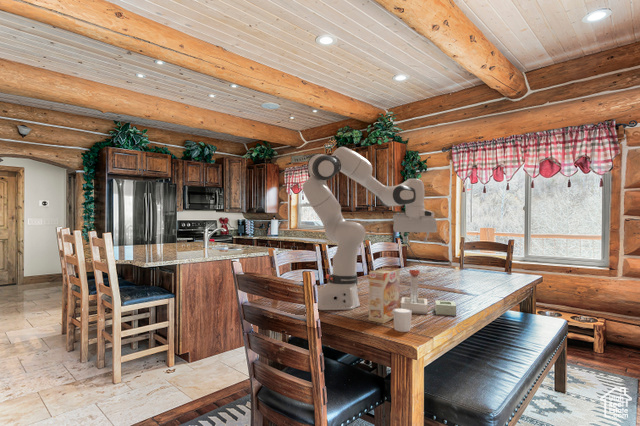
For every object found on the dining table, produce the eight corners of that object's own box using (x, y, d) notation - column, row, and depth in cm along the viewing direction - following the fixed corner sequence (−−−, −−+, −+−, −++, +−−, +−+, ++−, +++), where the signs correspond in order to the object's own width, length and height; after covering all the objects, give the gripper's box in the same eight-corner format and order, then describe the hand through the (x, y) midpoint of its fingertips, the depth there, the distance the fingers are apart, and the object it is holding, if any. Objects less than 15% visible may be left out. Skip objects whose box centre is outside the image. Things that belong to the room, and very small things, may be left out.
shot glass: (410, 333, 125) (410, 313, 125) (391, 331, 128) (391, 311, 128) (413, 327, 132) (413, 308, 132) (394, 325, 134) (394, 307, 134)
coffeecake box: (384, 324, 136) (384, 273, 136) (367, 320, 140) (367, 271, 141) (400, 315, 148) (400, 268, 148) (384, 312, 152) (384, 267, 153)
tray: (400, 312, 153) (400, 302, 153) (402, 305, 163) (402, 297, 163) (427, 314, 150) (427, 304, 150) (427, 307, 160) (427, 298, 160)
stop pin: (412, 309, 154) (412, 271, 154) (407, 306, 158) (407, 269, 158) (421, 308, 155) (421, 270, 155) (416, 306, 159) (416, 269, 159)
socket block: (436, 314, 150) (435, 304, 150) (435, 309, 158) (435, 300, 158) (456, 315, 148) (456, 305, 148) (454, 310, 155) (454, 301, 155)
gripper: (392, 212, 169) (392, 241, 169) (437, 212, 163) (437, 242, 163) (393, 212, 175) (393, 240, 175) (436, 212, 169) (436, 241, 169)
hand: (414, 241), depth 169 cm, fingers open, 8 cm apart
